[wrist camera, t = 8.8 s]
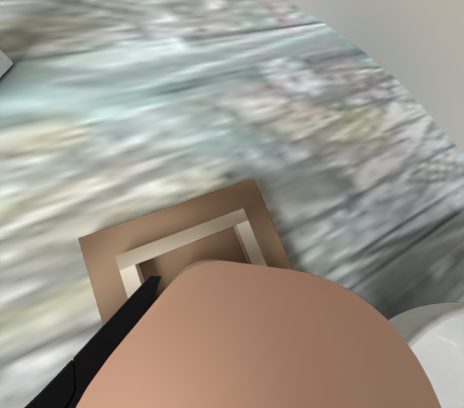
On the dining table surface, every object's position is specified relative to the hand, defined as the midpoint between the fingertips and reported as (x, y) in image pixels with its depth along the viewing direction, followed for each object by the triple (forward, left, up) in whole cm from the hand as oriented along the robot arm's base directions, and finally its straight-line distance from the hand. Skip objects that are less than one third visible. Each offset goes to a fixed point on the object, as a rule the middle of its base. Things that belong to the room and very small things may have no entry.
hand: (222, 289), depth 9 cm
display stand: (-1, +1, -9) cm, 10 cm away
